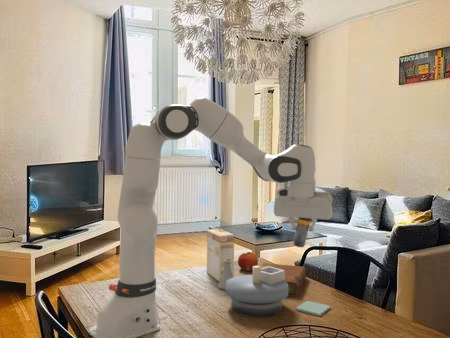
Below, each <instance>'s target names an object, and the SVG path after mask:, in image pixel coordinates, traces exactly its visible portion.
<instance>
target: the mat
mask: <svg viewBox="0 0 450 338" xmlns="http://www.w3.org/2000/svg"><path fill="white" fill-rule="evenodd" d="M329 310H331V305H328V304H323V303H319V302H315V301H311V300H310V301H309V300H306V301H304V302H303V303H301V304H300V305H297V307H295V311H298V312H301V313H305V314H308V315H309V314H310V315H314V316H316V317H317V316H318V317H321V316H323V314H325V313H326V312H328V311H329Z"/></svg>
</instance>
